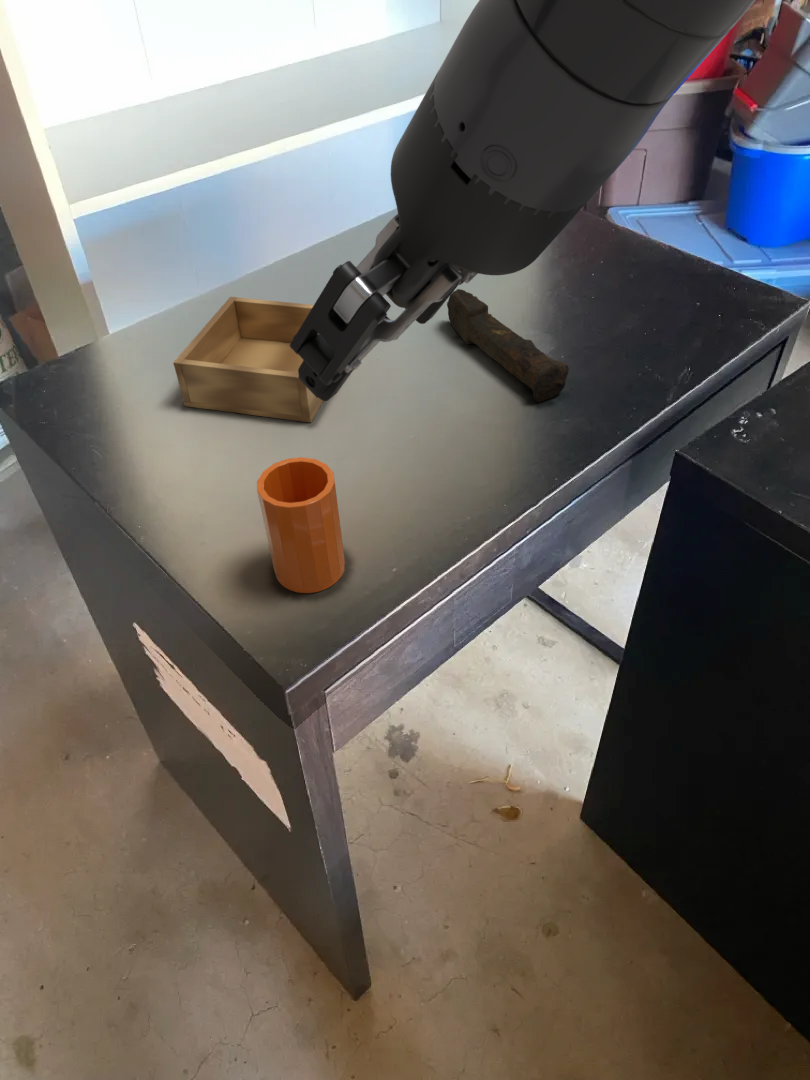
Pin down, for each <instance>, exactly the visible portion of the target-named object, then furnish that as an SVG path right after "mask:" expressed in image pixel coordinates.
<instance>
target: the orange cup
mask: <svg viewBox="0 0 810 1080" xmlns="http://www.w3.org/2000/svg"><path fill="white" fill-rule="evenodd" d="M256 493H257V497H258V502H259V507H260V509H261V515H262V521H263V526H264V529H265V534H266V538H267V543H268V548H269V553H270V557H271V558H270V559H271V562H272V568H273V571H274V574H275V578H276V579H277V582H278V583H279V584H280V585H281V586H282V587H283V588H285V589H287V590H288V591H291V592H293V593H298V594H299V593H300V594H313V593H318V592H319V593H320V592H322V591H324V590H327V589H329V588H330V587H332V586H333V585H335V584H336V583H337V582H338V581H339V580H340V579H341V578H342V576H343V575H344V572H345V568H346V561H345V552H344V544H343V537H342V528H341V520H340V511H339V504H338V497H337V488H336V481H335V473H334V471H333V469H331V468H330V467H329V465H328V464H327V463H325V462H323V461H320V460H318V459H316V458H310V457H303V456H302V457H301V456H300V457H292V458H286V459H283V460H280V461H277V462H275V463H272V464H271V465H270V466H269V467H267V468H266V469H265V470H263V471H262V472H261V475H260V476H259V477H258V478H257V481H256Z"/></svg>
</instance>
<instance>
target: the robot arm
mask: <svg viewBox="0 0 810 1080" xmlns="http://www.w3.org/2000/svg"><path fill="white" fill-rule="evenodd" d="M756 1H757V0H478V1H477V3H476V5H475V6H474V8H473V9H472V11H471V12H470V14H469V15H468V17H467V19H466V20H465V22H464V23H463V26H462V28H461V29H460V31H459V33H458V35H457V36H456V39H455V40H454V42H453V44H452V46H451V47H450V49H449V51H448V53H447V54H446V56H445V58H444V60H443V62H442V63H441V65H440V67H439V68H438V70H437V72H436V74H435V76H434V78H433V79H432V81H431V83H430V85H429V87H428V88H427V91H426V92H425V93H424V96H423V98H422V99H421V101H420V102H419V105H418V106H417V109H416V110H415V112H414V114H413V115H412V117H411V119H410V121H409V123H408V124H407V126H406V128H405V130H404V132H403V134H402V135H401V137H400V139H399V140H398V142H397V144H396V146H395V149H394V151H393V154H392V157H391V161H390V183H391V189H392V194H393V198H394V201H395V206H396V210H397V214H396V215H394V216H393V217H392V218H391V219H390V220H389V221H388V223H387V224H386V225H385V226H384V227H383V228H382V229H381V231H379V232H378V234H377V235H376V237H375V244H374V247H372V249H371V250H370V251H369V252H368V253H367V254H366V255H365V256H364V258H363V259H362V260H361V261H360V262H359V263H358V264H357V266H355V264H354V263H352V261H351V260H347V261H345V262H343V264H339V265H338V266H336V268H334V270H333V271H332V275H331V276H330V278H329V280H328V281H327V283H326V285H325V286H324V288H323V289H322V291H321V293H320V294H319V295H318V297H317V299H316V300H315V302H314V304H313V305H314V306H313V307H312V309H311V311H310V312H309V314H308V316H307V317H306V319H305V321H304V322H303V324H302V326H301V327H300V329H299V330H298V332H297V334H296V335H295V336H294V337H293V340H292V342H291V344H290V347H291V348H292V350H293V351H294V352H295V353H296V354H298V355H299V356H300V357H301V358H302V359H303V362H302V364H301V365H300V367H299V369H298V373H299V376H298V378H299V379H300V380H301V381H302V383H303V384H304V385H305V386H306V387H307V388H308V389H309V390H310V391H311V392H312V393H313V394H314V395H315V396H316V397H317V398H318V397H319V398H320V399H321V400H323V402H328V401H329V400H330V399H332V398H333V397H335V395H337V394H338V393H339V391H340V389H341V388H342V386H344V384H345V382H347V380H348V379H349V377H350V376H351V374H352V373H353V372H354V371H355V370H357V369H358V368H360V366H361V365H362V362H363V360H364V359H365V358H366V356H367V355H368V354H370V353H371V351H373V349H374V348H375V347H376V346H377V345H378V344H379V343H380V342H382V343H389V342H392V341H393V342H394V341H396V340H397V339H399V338H400V337H401V336H402V335H403V334H404V332H405V331H406V330H407V329H408V328H409V327H410V326H412V325H413V324H414V322H416V323H418V324H421V325H424V324H426V323H428V322H429V321H430V320H432V319H433V317H434V316H435V315H436V314H437V313H438V311H439V310H440V309H441V308H442V307H443V306H444V304H445V302H446V301H447V300H449V297H450V295H451V294H452V293H453V292H454V291H456V290H457V288H458V286H461V285H463V284H464V283H465V284H469V283H470V282H471V281H472V280H473V279H474V278H475V277H476V276H477V275H478V274H479V275H485V276H505V275H511V274H515V273H517V272H520V271H522V270H525V269H526V268H527V267H529V266H531V264H533V263H534V262H535V261H536V260H537V259H538V258H539V257H540V255H541V254H543V252H544V251H545V250H546V249H547V248H548V247H549V246H550V245H551V243H552V242H553V241H554V240H555V239H556V238H557V237H558V236H559V235H560V234H561V232H562V231H563V230H564V229H565V228H566V227H567V225H569V223H570V222H572V220H573V219H574V218H575V217H576V215H577V214H579V212H580V211H581V210H582V209H583V208H584V206H585V205H586V204H587V203H588V202H589V201H590V199H592V198H593V196H594V195H595V194H596V193H597V192H598V191H599V190H600V189H601V187H602V186H603V185H604V184H605V183H606V182H607V181H608V179H610V177H611V176H612V175H613V174H614V173H615V172H616V171H617V170H618V169H619V167H621V165H622V164H623V163H624V162H625V160H627V159H628V157H629V156H630V155H631V153H632V152H633V151H634V150H635V148H637V146H638V145H639V144H640V142H641V141H642V139H643V138H644V137H645V135H646V134H647V132H648V131H649V129H650V127H651V126H652V124H653V123H654V122H655V120H656V118H657V117H658V116H659V114H660V113H661V111H662V110H663V108H664V107H665V106H666V105H667V104H668V102H669V101H670V99H671V98H672V97H673V96H674V95H675V94H676V93H677V92H678V90H680V88H681V87H682V86H683V85H684V84H685V82H686V81H687V80H688V79H689V78H690V77H691V76H692V74H694V72H695V71H696V70H697V69H698V68H699V67H700V66H701V64H702V63H703V62H704V61H705V60H706V59H707V58H708V57H709V55H711V53H712V52H713V51H714V50H715V49H716V47H718V46H719V44H720V43H721V42H722V41H723V39H724V38H725V37H726V36H727V35H728V34H729V33H730V31H731V30H732V29H733V28H734V27H735V26H736V25H737V23H738V22H739V21H740V20H741V19H742V18H743V16H744V15H745V14H746V13H747V12H748V10H749V9H750V8H751V7H752V6H753V5H754V3H755V2H756ZM384 296H387V297H388V298H389V299H390V301H391V302H392V303H393V304H394V305H395V306H397V307H399V308H401V309H404V310H403V311H402V312H401V314H400V315H399V316H397V317H396V318H395V319H394V320H393V319H391V318H389V317H388V312H389V310H390V309H391V307H392V305H391V303H390V302H388V300H387V299H386V298H385V297H384Z"/></svg>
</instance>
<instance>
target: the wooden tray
mask: <svg viewBox="0 0 810 1080" xmlns="http://www.w3.org/2000/svg"><path fill="white" fill-rule="evenodd" d="M313 306H314V304H311V303H310V304H309V303H299V302H290V301H289V302H288V301H278V300H268V299H257V298H248V297H237V296H230V297H228V299H226V301H225V302H224V303H223V304H222V305H221V306H220V308H219V309H218V310H217V311H216V312H215V313H214V315H213V316H212V317H211V318H210V319H209V321H207V323H206V324H205V325H204V327H202V328H201V330H200V331H199V332H198V333H197V334H196V336H194V338H193V339H192V340H191V341H190V343H189V344H188V345H187V346H186V347H185V348H184V349H183V350H182V352H181V353H179V355H178V356H177V358H175V360H174V361H173V362H172V363H173V366H174V367H173V368H174V371H175V374H176V378H177V382H178V386H179V390H180V393H181V397H182V402H183V405H184V407H188V408H197V409H205V410H212V411H219V412H221V411H222V412H227V413H235V414H241V415H250V416H258V417H265V418H273V419H280V420H287V421H288V420H289V421H296V422H303V423H312V421H314V418H315V417H316V415H317V413H318V412H319V410H320V408H321V407H322V405H323V403H324V401H323V400H321V399H320V398H319V397H318V398H317V397H316V396H315V395H314V394H313V393H312V392H311V391H310V390H309V389H308V388H307V387H306V386H305V385H304V384H303V383H302V381H301V380H300V379H299V378H298V376H299V373H298V369H299V367H300V365H301V364H302V362H303V359H302V358H301V357H300V356H299V355H298V354H296V353H295V352H294V351H293V350H292V348H291V347H290V344H291V342H292V340H293V337H294V336H295V335H296V334H297V332H298V330H299V329H300V327H301V326H302V324H303V322H304V321H305V319H306V317H307V316H308V314H309V312H310V311H311V309H312V307H313Z"/></svg>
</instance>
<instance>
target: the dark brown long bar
mask: <svg viewBox="0 0 810 1080" xmlns="http://www.w3.org/2000/svg"><path fill="white" fill-rule="evenodd" d="M447 300H448V301H447V302H446V306H447V315H448V320H449V322H450V325H451V326H452V327H453V329H454V331H455V332H456V333H457V334H458V336H459V337H460V338H461V339H462V340H463V341H464V343H465V344H467V345H476V346H478V347H479V349H481V350H482V351H483V352H484V353H485V354H486V355H487V356H489V358H491V359H493V360H494V361H496V362H497V363H498V364H500V365H501V366H502V367H503V368H504V369H505V370H506V371H507V372H509V373H510V375H512V376H514V377H515V378H517V379H518V380H519V381H520V382H522V383H523V384H524V385H526V386H527V387H529V388H530V389H531V390H532V392H533V395H532V397H533V399H534V400H535V401H536V402H537V403H542V402H543V401H546V400H547V401H548V400H549V399H552V398H553V397H555V396H557V395H559V394H560V393H561V392H562V391H563V389H564V388H565V386H566V381H567V378H568V375H569V365H568V364H567V363H565V362H564V361H560V360H556V359H553V358H551V357H549V356H548V355H546V353H544V352H543V351H541V350H540V349H539V348H537V346H536V345H535V344H534V342H533V340H532V339H527V338H526V339H525V338H523V336H521V335H519V334H518V333H516V332H515V331H513V330H512V329H511V328H509V327H508V326H507V325H505V324H504V323H502V322H501V321H499V320H498V319H497V318H496V317H494V316H493V315H492V314H491V313H489V305H487V304H486V303H485V302H484V301H483V300H480V299H479V298H478V296H477V295H476V296H475V295H474V294H473V293H471V292H467V291H466V290H464V289H460V288H456V289H455V290H454V291H453V292H452V294H451V295H450V296H449V297H448V299H447Z"/></svg>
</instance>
